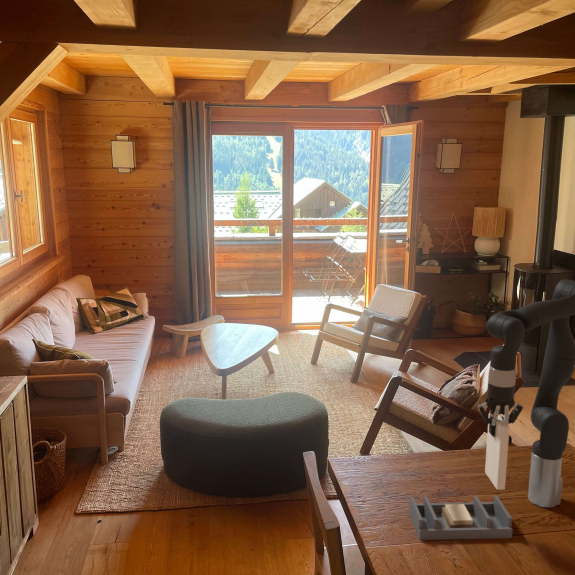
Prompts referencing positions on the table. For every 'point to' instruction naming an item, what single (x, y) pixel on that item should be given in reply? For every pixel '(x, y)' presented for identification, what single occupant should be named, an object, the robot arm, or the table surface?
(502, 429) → the white rectangular board
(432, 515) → the rack
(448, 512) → the offcuts
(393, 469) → the table surface
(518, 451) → the table surface
